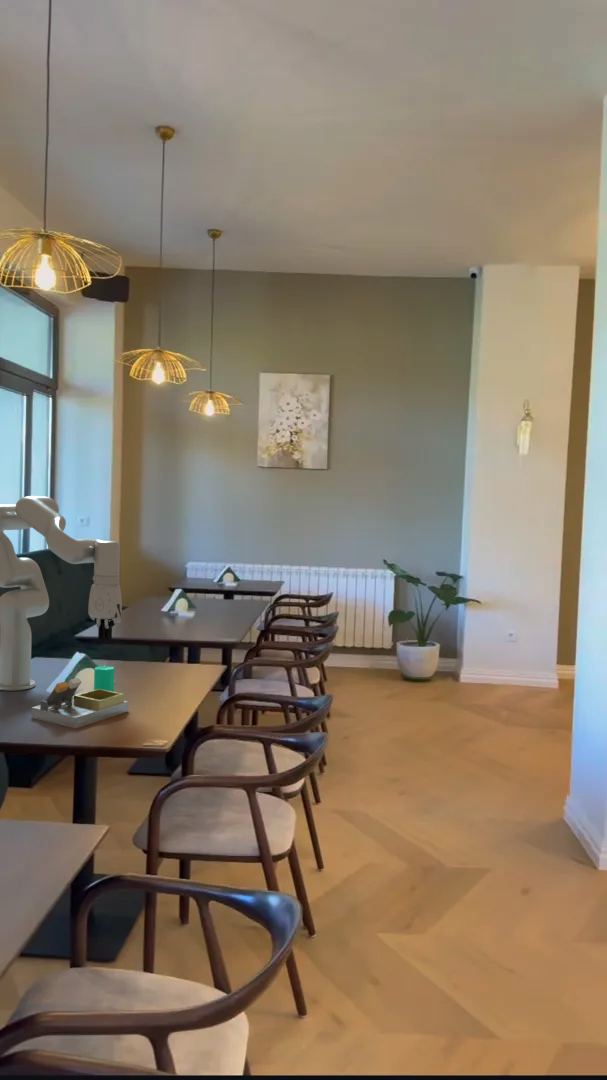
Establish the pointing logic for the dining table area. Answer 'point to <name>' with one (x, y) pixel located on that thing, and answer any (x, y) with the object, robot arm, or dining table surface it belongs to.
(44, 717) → the panel
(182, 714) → the dining table surface
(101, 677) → the candle
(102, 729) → the dining table surface
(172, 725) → the dining table surface
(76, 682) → the block
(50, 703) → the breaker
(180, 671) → the dining table surface
